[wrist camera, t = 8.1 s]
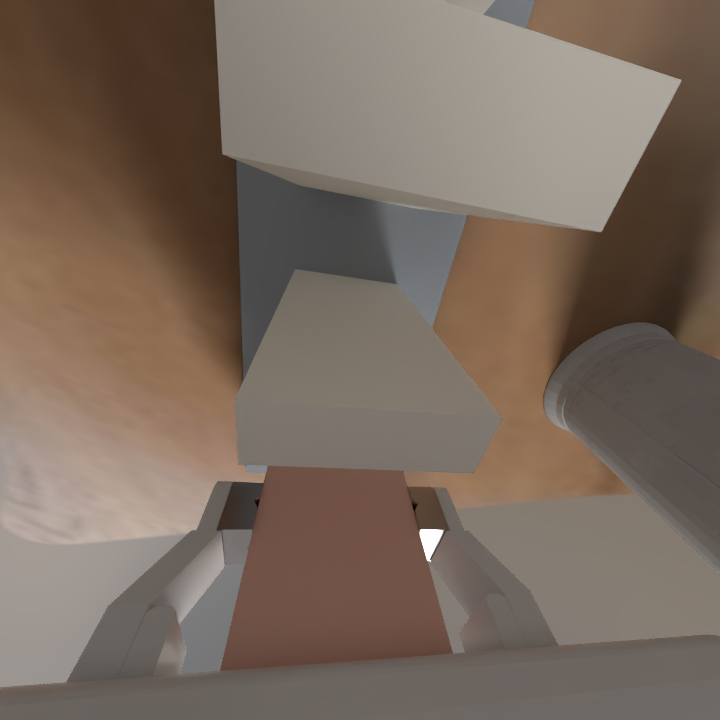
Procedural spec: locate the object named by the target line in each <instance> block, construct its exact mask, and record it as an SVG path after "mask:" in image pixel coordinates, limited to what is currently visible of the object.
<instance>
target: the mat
mask: <svg viewBox="0 0 720 720" xmlns="http://www.w3.org/2000/svg"><path fill="white" fill-rule="evenodd" d="M534 2H535V0H495V1H494V3H493V4H492V5H491V6H490V7H489V8H488V10H487V11H486V12H485V13H484V14H483V15H486V16H489V17H492V18H495V19H498V20H501V21H504V22H507V23H510V24H513V25H516V26H519V27H522V28H525V29H526V27H527V24H528V21H529V18H530V15H531V12H532V8H533V5H534ZM236 169H237V200H238V231H239V261H240V292H241V323H242V353H243V380H244V378H245V376H246V374H247V372H248V370H249V367H250V365H251V363H252V361H253V359H254V357H255V355H256V352H257V350H258V348H259V346H260V344H261V342H262V339H263V337H264V335H265V333H266V331H267V329H268V327H269V324H270V322H271V320H272V318H273V316H274V314H275V311H276V309H277V307H278V305H279V303H280V301H281V299H282V296H283V294H284V292H285V290H286V288H287V286H288V283H289V281H290V279H291V277H292V275H293V273H294V271H295V269H299V270H305V271H312V272H319V273H325V274H332V275H339V276H346V277H352V278H359V279H366V280H372V281H379V282H386V283H392V284H397V285H398V286H399V287H400V289H401V290H402V291H403V292H404V294H405V295H406V296H407V297H408V299H409V300H410V301H411V303H412V304H413V305H414V306H415V308H416V309H417V310H418V311H419V313H420V314H421V315H422V316H423V318H424V319H425V320H426V322H427V323H428V324H429V325H430V327H431V328H432V327H433V324H434V320H435V317H436V314H437V311H438V308H439V305H440V301H441V298H442V295H443V292H444V289H445V285H446V282H447V279H448V276H449V273H450V269H451V266H452V263H453V260H454V257H455V254H456V250H457V247H458V244H459V241H460V238H461V234H462V231H463V228H464V225H465V222H466V219H467V215H463V214H455V213H447V212H440V211H432V210H424V209H416V208H411V207H406V206H401V205H395V204H390V203H385V202H380V201H375V200H370V199H365V198H360V197H355V196H350V195H345V194H340V193H335V192H330V191H325V190H320V189H314V188H309V187H304V186H300V185H297V184H295V183H292V182H290V181H287V180H285V179H282V178H280V177H278V176H275V175H273V174H270V173H268V172H265V171H263V170H260V169H258V168H255V167H253V166H251V165H248V164H246V163H243V162H241V161H238V160H236ZM267 467H268V466H263V465H246V472H251V473H266V471H267Z"/></svg>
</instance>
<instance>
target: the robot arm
mask: <svg viewBox="0 0 720 720" xmlns="http://www.w3.org/2000/svg"><path fill="white" fill-rule="evenodd" d="M263 486H264V483H248V482H227V481H218V482H217V483H216V485H215V486H214V488H213V491H212V493H211V496H210V498H209V501H208V503H207V506H206V508H205V511H204V513H203V516H202V518H201V521H200V523H199V526H198V528H197V530H193V531H190V532H189V533H188V534H187V535H186V536H185V537H184V538H183V539H182V540H181V541H180V542H178V543H177V544H176V545H175V546H174V547H173V548H172V549H171V550H170V551H169V552H167V553H166V554H165V555H164V556H163V557H162V558H161V559H160V560H158V561H157V562H156V563H155V564H154V565H153V566H152V567H151V568H150V569H149V570H147V571H146V572H145V573H144V574H143V575H142V576H141V577H140V578H139V579H138V580H136V581H135V582H134V583H133V584H132V585H131V586H130V587H129V588H128V589H127V590H126V591H124V592H123V593H122V594H121V595H120V596H119V597H118V598H117V599H116V600H114V602H112V603H111V604H110V605H109V606H108V607H107V609H106V611H105V613H104V615H103V617H102V619H101V620H100V622H99V624H98V626H97V627H96V629H95V631H94V633H93V635H92V636H91V638H90V640H89V642H88V644H87V646H86V647H85V649H84V651H83V653H82V655H81V657H80V658H79V660H78V662H77V664H76V666H75V667H74V669H73V671H72V673H71V675H70V677H69V678H68V680H67V682H65V683H52V684H39V685H25V686H12V687H0V720H720V636H717V635H693V636H680V637H668V638H653V639H640V640H626V641H613V642H600V643H586V644H573V645H561V646H558V644H557V642H556V640H555V638H554V636H553V634H552V632H551V630H550V628H549V626H548V624H547V622H546V620H545V618H544V617H543V615H542V613H541V611H540V609H539V607H538V605H537V603H536V601H535V600H534V597H533V595H532V593H531V591H530V590H529V589H528V588H527V587H526V586H525V585H524V584H522V583H521V582H520V581H519V580H518V579H517V578H516V577H515V576H514V575H513V574H512V573H511V572H510V571H509V570H508V569H507V568H506V567H505V566H504V565H503V564H502V563H501V562H500V561H499V560H498V559H497V558H496V557H495V556H493V555H492V553H490V552H489V551H488V550H487V549H486V548H485V547H484V546H483V545H482V544H481V543H480V542H479V541H478V540H477V539H476V538H475V537H474V536H473V535H472V534H471V533H470V532H469V531H464V528H463V526H462V524H461V521H460V519H459V517H458V514H457V512H456V509H455V507H454V505H453V502H452V500H451V498H450V495H449V493H448V490H447V489H446V488H436V487H432V488H431V487H407V490H408V494H409V497H410V501H411V503H412V506H413V510H414V516H415V519H416V523H417V526H418V530H419V533H420V536H421V539H422V543H423V546H424V550H425V554H426V557H427V561H430V563H431V565H432V566H433V567H434V569H435V570H436V571H437V573H438V574H439V575H440V577H441V578H442V580H443V581H444V582H445V584H446V585H447V586H448V588H449V589H450V591H451V592H452V593H453V594H454V596H455V597H456V599H457V600H458V601H459V603H460V604H461V606H462V607H463V608H464V610H465V611H466V613H467V614H468V615H469V617H470V618H469V619H468V621H467V622H466V623H465V624H464V626H463V627H462V628H461V631H460V633H459V634H460V637H461V640H462V644H463V647H464V651H465V653H453V654H439V655H426V656H413V657H399V658H386V659H372V660H359V661H346V662H332V663H319V664H306V665H292V666H279V667H266V668H252V669H239V670H226V671H212V672H200V673H185V674H180V671H181V668H182V665H183V661H184V658H185V654H186V651H187V649H186V646H185V642H184V639H183V636H182V632H181V629H180V625H179V624H180V623H181V621H182V620H183V619H184V618H185V616H186V615H187V614H188V612H189V611H190V610H191V609H192V607H193V606H194V605H195V604H196V602H197V601H198V599H200V597H201V596H202V595H203V593H204V592H205V591H206V590H207V588H208V587H209V586H210V585H211V583H212V582H213V580H215V578H216V577H217V575H218V574H219V573H220V572H221V571H222V569H223V568H224V567H225V564H245V562H246V557H247V553H248V549H249V544H250V540H251V536H252V533H253V529H254V525H255V521H256V517H257V512H258V506H259V501H260V498H261V495H262V490H263Z"/></svg>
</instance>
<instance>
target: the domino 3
mask: <svg viewBox="0 0 720 720" xmlns="http://www.w3.org/2000/svg"><path fill="white" fill-rule="evenodd" d="M439 654H453V652H452V649H451V645H450V642H449V638H448V634H447V630H446V627H445V623H444V619H443V616H442V612H441V609H440V605H439V601H438V598H437V594H436V590H435V587H434V583H433V579H432V576H431V572H430V568H429V565H428V561H427V557H426V554H425V550H424V546H423V543H422V539H421V536H420V533H419V530H418V526H417V523H416V519H415V516H414V510H413V506H412V503H411V501H410V497H409V494H408V490H407V484H406V481H405V477H404V473H403V471H399V470H372V469H345V468H318V467H290V466H268V467H267V471H266V475H265V480H264V486H263V490H262V495H261V498H260V501H259V506H258V512H257V517H256V521H255V525H254V529H253V533H252V536H251V540H250V544H249V549H248V553H247V557H246V562H245V566H244V571H243V575H242V579H241V583H240V588H239V592H238V597H237V601H236V605H235V609H234V614H233V618H232V622H231V626H230V631H229V636H228V639H227V644H226V648H225V652H224V657H223V661H222V665H221V670H220V671H226V670H239V669H252V668H266V667H279V666H292V665H306V664H319V663H332V662H346V661H359V660H372V659H386V658H399V657H413V656H426V655H439Z"/></svg>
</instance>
